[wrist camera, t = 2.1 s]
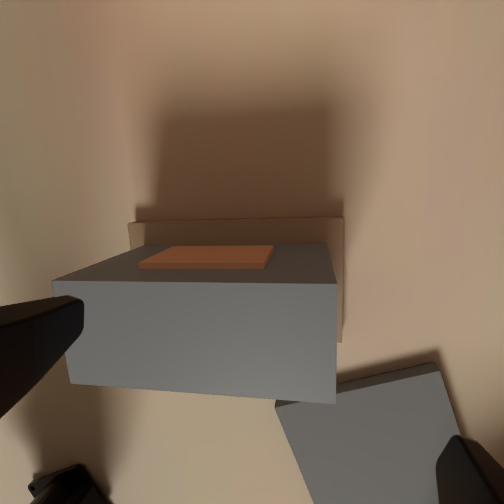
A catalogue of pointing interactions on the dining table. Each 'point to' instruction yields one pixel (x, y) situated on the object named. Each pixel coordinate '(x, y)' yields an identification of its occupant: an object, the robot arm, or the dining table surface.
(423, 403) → the mat
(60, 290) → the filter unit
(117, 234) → the dining table surface
